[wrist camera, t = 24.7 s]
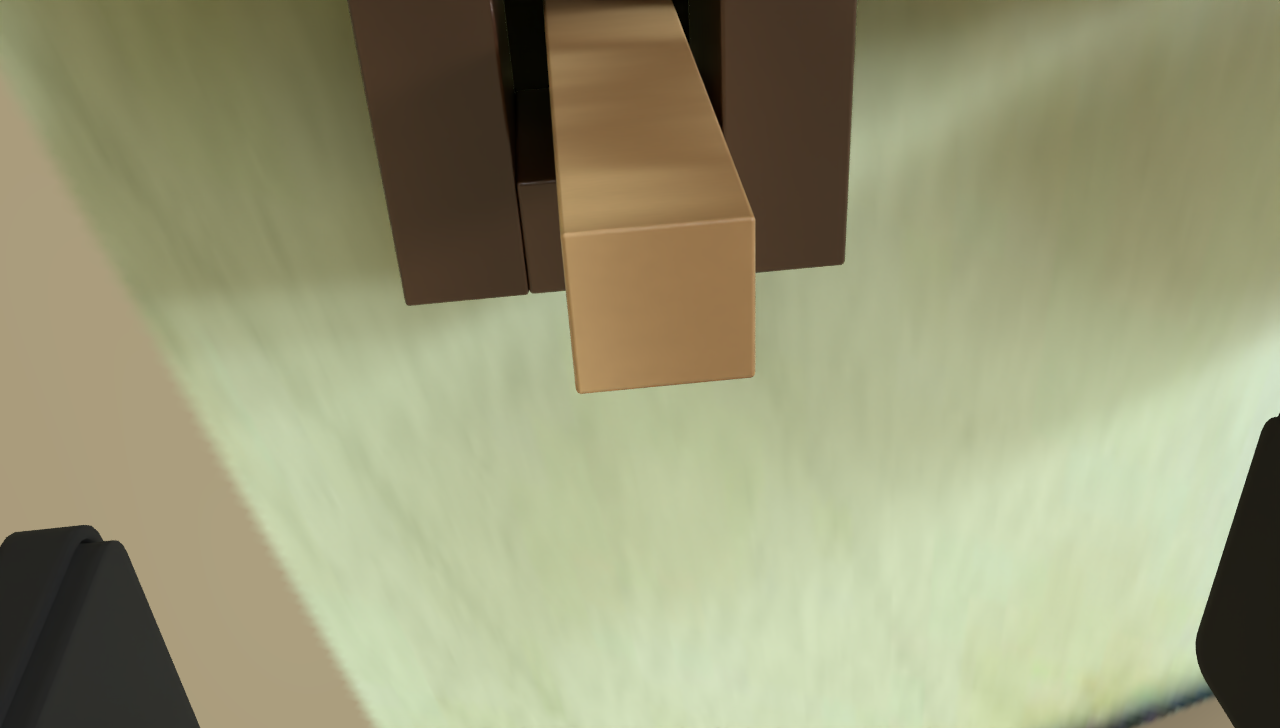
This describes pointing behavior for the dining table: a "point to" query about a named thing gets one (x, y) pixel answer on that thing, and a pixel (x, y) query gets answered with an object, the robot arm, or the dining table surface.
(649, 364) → the light brown wooden bar
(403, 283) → the utensil stand
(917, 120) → the dining table surface
